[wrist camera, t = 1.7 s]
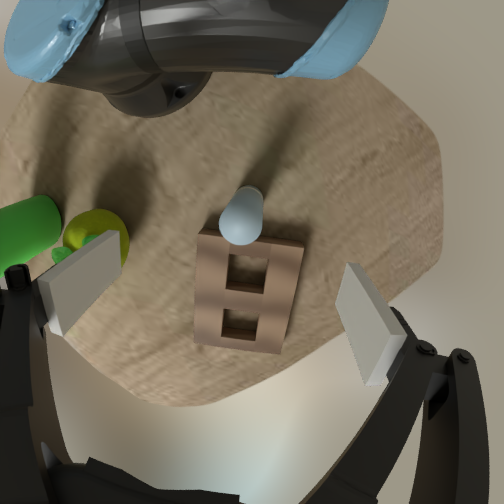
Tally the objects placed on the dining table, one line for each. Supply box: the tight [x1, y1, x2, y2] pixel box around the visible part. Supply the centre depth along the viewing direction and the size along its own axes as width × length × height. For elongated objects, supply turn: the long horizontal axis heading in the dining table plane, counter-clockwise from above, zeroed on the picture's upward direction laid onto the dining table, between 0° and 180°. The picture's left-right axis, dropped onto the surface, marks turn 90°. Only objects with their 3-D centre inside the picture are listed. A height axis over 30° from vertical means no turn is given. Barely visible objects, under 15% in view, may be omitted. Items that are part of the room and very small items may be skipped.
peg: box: [219, 185, 263, 245], centre depth 29 cm, size 4×4×12 cm
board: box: [194, 228, 304, 354], centre depth 38 cm, size 17×13×2 cm
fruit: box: [52, 209, 130, 268], centre depth 32 cm, size 9×9×10 cm
